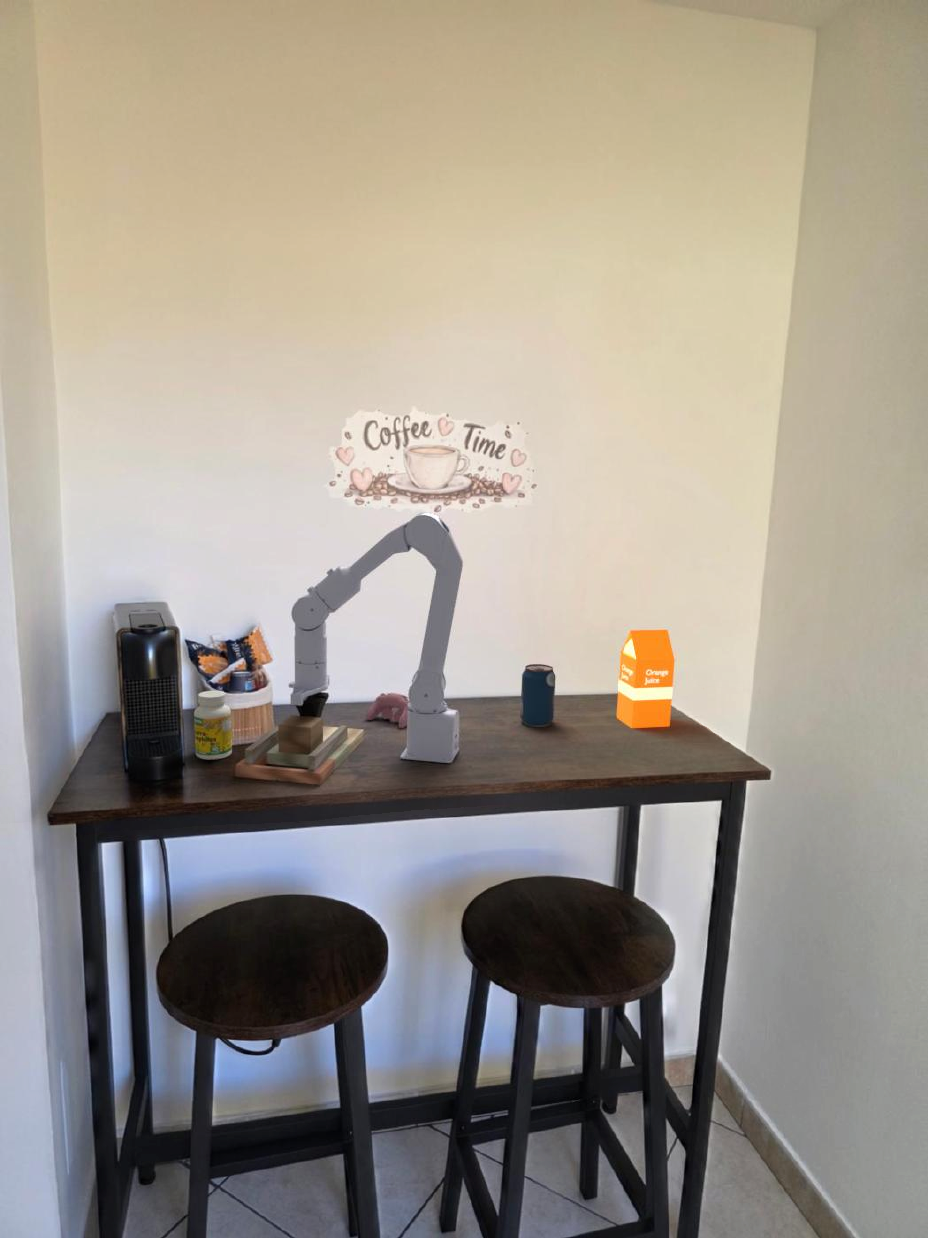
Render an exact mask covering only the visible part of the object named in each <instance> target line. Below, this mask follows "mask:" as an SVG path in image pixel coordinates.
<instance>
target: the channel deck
mask: <svg viewBox="0 0 928 1238" xmlns="http://www.w3.org/2000/svg"><path fill="white" fill-rule="evenodd" d="M278 725H279V724H277V725H276V726H275V727H273V728H272V729H271V730H269V731H268V732H267V733H265V734H264V735H263V736H261V737H260V738H259V739H257V740H256V741H255V742H253V743H252V744H250V745H249V746H248V747H247V748H245V749H244V758H243V759H241V760H240V761H239V762H238V763H236V764H235V765H234V766H235V768H234V769H235V771H234V772H235V777H237V778H247V779H258V780H267V781H276V780H278V782H286V781H287V783H298V784H305V783H306V784H305V785H307V784H308V785H315V784H316V785H317V786H321V785H322V784H323V783H324V782H325V781H326V780H327V779H328V778H329V777H330V776H331V775H332V774H331V773H334V771H335V770H337V768H338V767H339V766H340V765H341V764H343V762H344V761H345V760H346V759H347V758H348V757H349V756H350V755H351V754H352V753H353V752H354V751H355V749H357V747H358V746H359V745H360V744H361V743H362V742H363V741H364V740H365V729H361V728H360V729H359V728H352V727H351V728H348V725H343V724H341V725H340V726H339V727H337V726H325V725H323V743H322V744H320V745H319V746H318V747H317V748H316V749H315V750H314V751H313V752H312V753H311V754H310V755H304V754H294V753H283V752H279V735H278ZM268 765H269V766H268ZM270 765H278V766H270ZM281 766H286V767H281ZM287 766H288V767H287ZM292 767H297V768H292ZM298 767H299V768H298ZM301 768H303V769H301ZM304 768H307V769H304ZM288 781H289V782H288Z"/></svg>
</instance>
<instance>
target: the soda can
mask: <svg viewBox="0 0 928 1238" xmlns="http://www.w3.org/2000/svg"><path fill="white" fill-rule="evenodd" d="M524 667H525V669H524V671H523V672H522V674H521V691H520V692H521V694H520V714H519V715H520V719H521V721H522V723H523V724H524V725H526V726H527V727H533V728H542V727H548V726H550V725H551V723H552V721H553V720H554V715H555V713H554V712H555V693H556V674H555V672H554V668H553V666H551V665H547V664H541V663H539V664H538V663H535V664H527V665H525V666H524Z"/></svg>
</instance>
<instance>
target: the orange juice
mask: <svg viewBox="0 0 928 1238" xmlns="http://www.w3.org/2000/svg"><path fill="white" fill-rule="evenodd" d="M673 652H674V651H673V648H672V643H671V639H670V634H669V629H641V630H640V629H639V630H638V629H635V630H633V629H631V630H629V633H628V635H627V637H626V640H625V642H624V644H623V646H622V649H621V652H620V657H619V658H620V660H619V672H618V673H619V675H618V687H617V691H618V692H617V703H616V704H617V707H616V718H617V719H618V721H619V720H620V721H621V722H622V723H624V724H625V725H626V726H627V727H629V728H631V729H642V728H661V727H662V728H663V727H664V728H665V727H670V723H671V711H672V700H673V691H674V684H673V683H674V674H675V661H676V660H675V656H674V653H673Z"/></svg>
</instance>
